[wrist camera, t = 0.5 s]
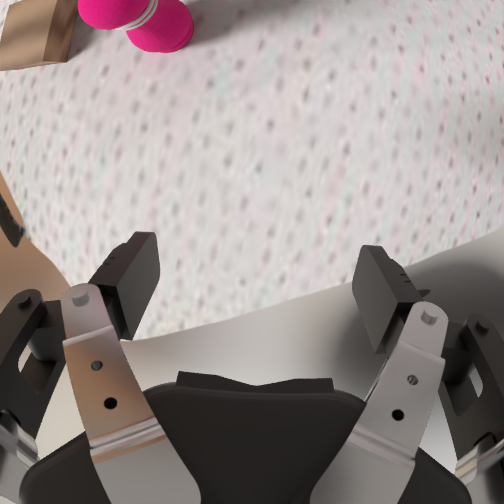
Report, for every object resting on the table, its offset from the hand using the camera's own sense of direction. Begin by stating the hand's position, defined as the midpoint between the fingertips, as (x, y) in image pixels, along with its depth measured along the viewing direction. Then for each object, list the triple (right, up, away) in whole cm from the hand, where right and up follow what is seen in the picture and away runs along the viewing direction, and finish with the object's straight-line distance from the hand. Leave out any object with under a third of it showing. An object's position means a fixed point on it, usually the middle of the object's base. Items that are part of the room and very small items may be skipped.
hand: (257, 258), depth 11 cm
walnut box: (-31, +33, +14) cm, 47 cm away
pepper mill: (-10, +28, +16) cm, 34 cm away
